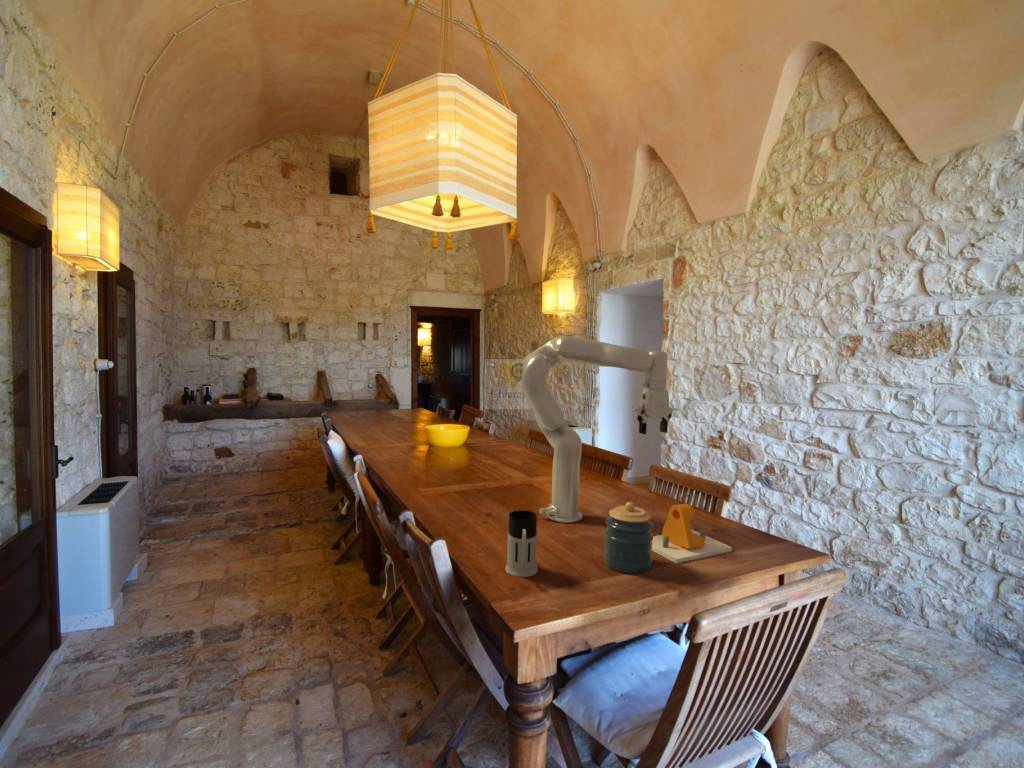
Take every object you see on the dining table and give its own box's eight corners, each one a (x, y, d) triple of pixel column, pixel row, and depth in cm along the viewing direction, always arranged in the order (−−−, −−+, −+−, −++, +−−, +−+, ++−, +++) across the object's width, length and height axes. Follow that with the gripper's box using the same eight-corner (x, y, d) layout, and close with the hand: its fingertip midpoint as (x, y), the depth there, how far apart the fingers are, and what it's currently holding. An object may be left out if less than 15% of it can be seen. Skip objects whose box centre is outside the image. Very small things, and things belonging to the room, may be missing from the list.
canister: (622, 578, 128) (625, 511, 127) (595, 558, 140) (597, 497, 139) (662, 570, 133) (664, 506, 132) (632, 551, 145) (634, 493, 144)
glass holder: (536, 562, 136) (537, 509, 135) (541, 587, 122) (542, 528, 121) (505, 562, 136) (506, 509, 135) (506, 586, 122) (507, 527, 121)
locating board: (676, 563, 138) (676, 548, 137) (638, 542, 152) (639, 529, 152) (731, 551, 147) (732, 537, 147) (691, 532, 161) (691, 520, 161)
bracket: (706, 547, 146) (708, 508, 145) (688, 551, 143) (689, 511, 142) (679, 535, 156) (681, 498, 155) (662, 538, 153) (663, 500, 152)
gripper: (643, 386, 168) (641, 436, 169) (681, 386, 175) (678, 433, 176) (629, 385, 175) (627, 432, 176) (666, 384, 182) (664, 430, 183)
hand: (653, 432), depth 176 cm, fingers open, 9 cm apart
